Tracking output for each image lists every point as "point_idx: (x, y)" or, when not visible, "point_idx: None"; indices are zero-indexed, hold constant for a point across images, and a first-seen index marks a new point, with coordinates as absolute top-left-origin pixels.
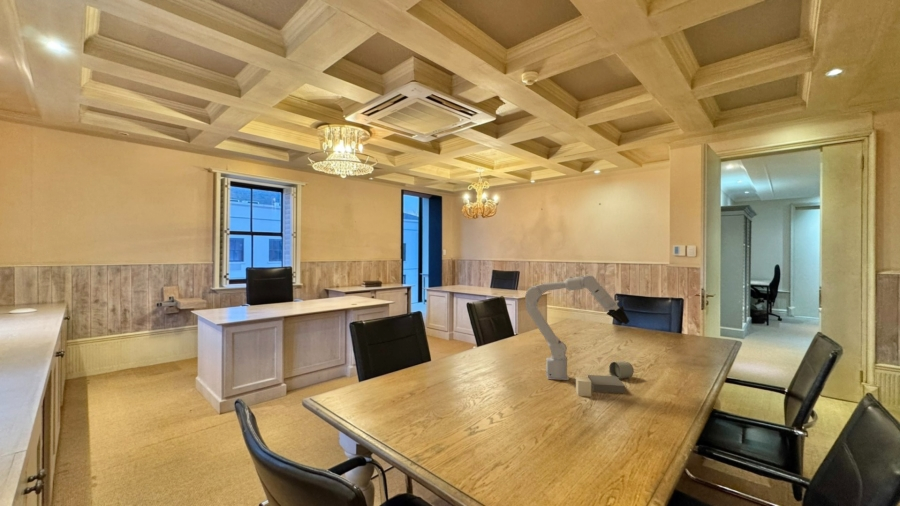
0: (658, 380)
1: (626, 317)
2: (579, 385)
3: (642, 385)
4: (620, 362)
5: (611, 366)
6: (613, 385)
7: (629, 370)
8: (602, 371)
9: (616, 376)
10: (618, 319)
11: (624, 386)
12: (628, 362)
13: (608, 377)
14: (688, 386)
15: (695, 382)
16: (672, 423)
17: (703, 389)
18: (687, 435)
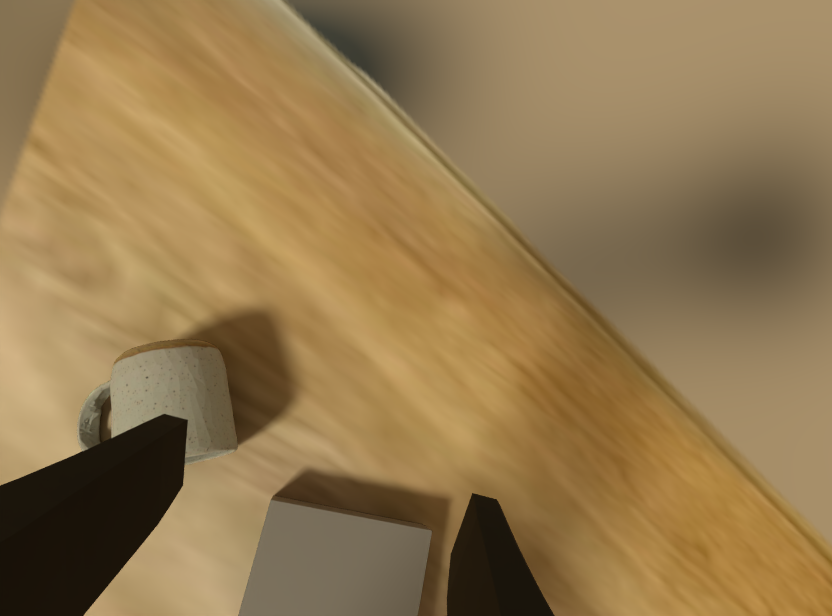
0: (265, 242)
1: (518, 577)
2: None
3: (325, 367)
4: None
5: None
6: (420, 597)
7: (224, 379)
8: None
9: None
10: (123, 539)
11: (431, 533)
12: (165, 350)
13: (286, 564)
14: (358, 171)
15: (313, 107)
16: (700, 492)
17: (396, 142)
18: (772, 497)
